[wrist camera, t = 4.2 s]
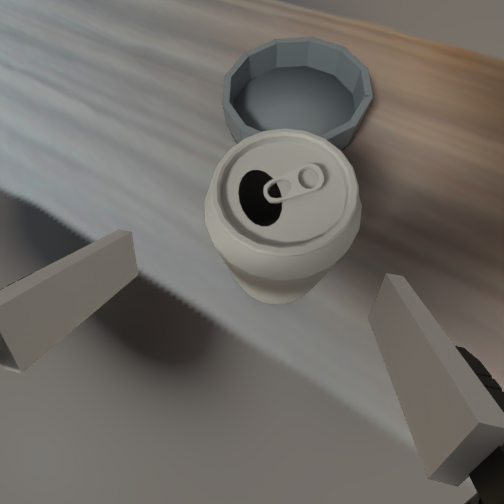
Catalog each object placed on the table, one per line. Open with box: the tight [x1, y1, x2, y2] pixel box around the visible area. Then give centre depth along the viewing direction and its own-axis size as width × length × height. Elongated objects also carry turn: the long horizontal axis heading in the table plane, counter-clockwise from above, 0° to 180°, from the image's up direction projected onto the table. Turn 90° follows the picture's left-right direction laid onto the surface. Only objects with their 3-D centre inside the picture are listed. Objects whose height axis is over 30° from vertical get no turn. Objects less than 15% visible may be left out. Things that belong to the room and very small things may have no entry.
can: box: [205, 129, 362, 305], centre depth 15 cm, size 8×8×12 cm
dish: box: [222, 37, 373, 150], centre depth 25 cm, size 14×14×3 cm
